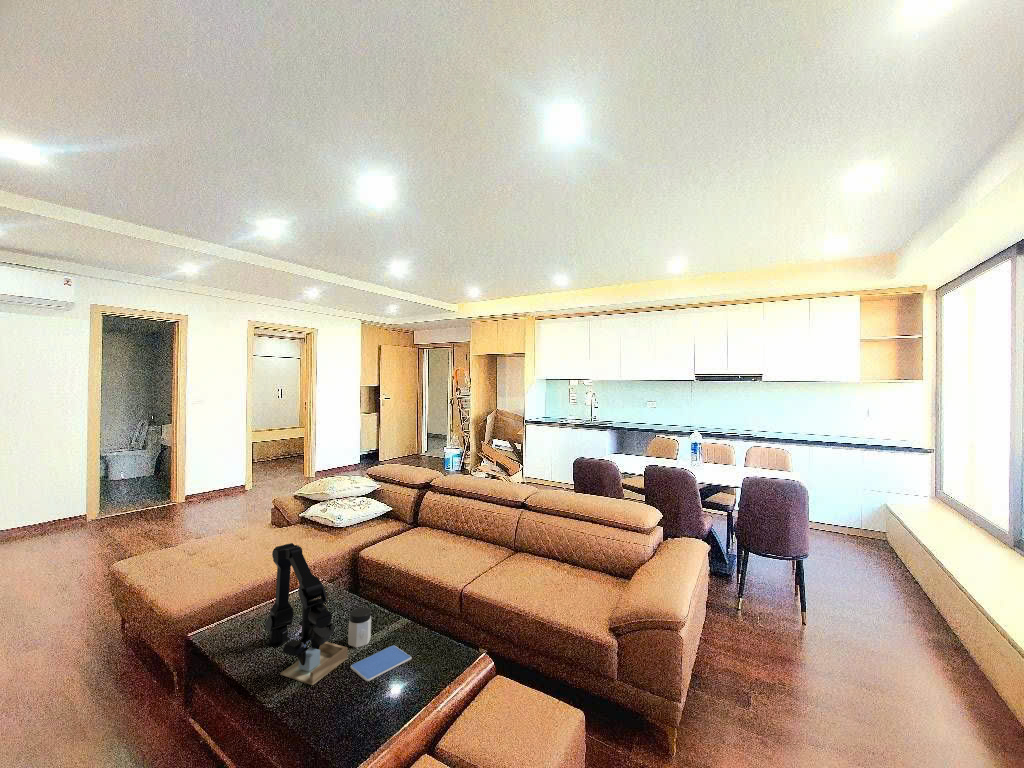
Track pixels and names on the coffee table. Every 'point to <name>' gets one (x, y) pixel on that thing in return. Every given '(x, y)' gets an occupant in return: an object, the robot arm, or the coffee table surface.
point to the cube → (311, 659)
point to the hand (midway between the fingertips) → (308, 660)
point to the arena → (328, 661)
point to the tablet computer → (380, 663)
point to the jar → (359, 627)
